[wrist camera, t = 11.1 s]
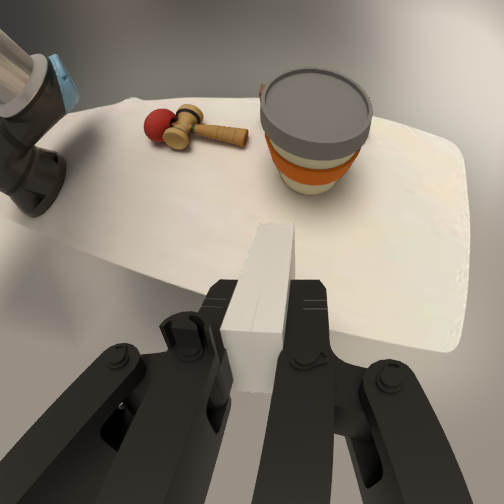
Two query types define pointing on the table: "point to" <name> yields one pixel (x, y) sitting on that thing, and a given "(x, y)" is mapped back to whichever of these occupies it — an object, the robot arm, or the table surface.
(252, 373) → the robot arm
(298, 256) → the table surface
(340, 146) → the reusable coffee cup
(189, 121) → the kendama
